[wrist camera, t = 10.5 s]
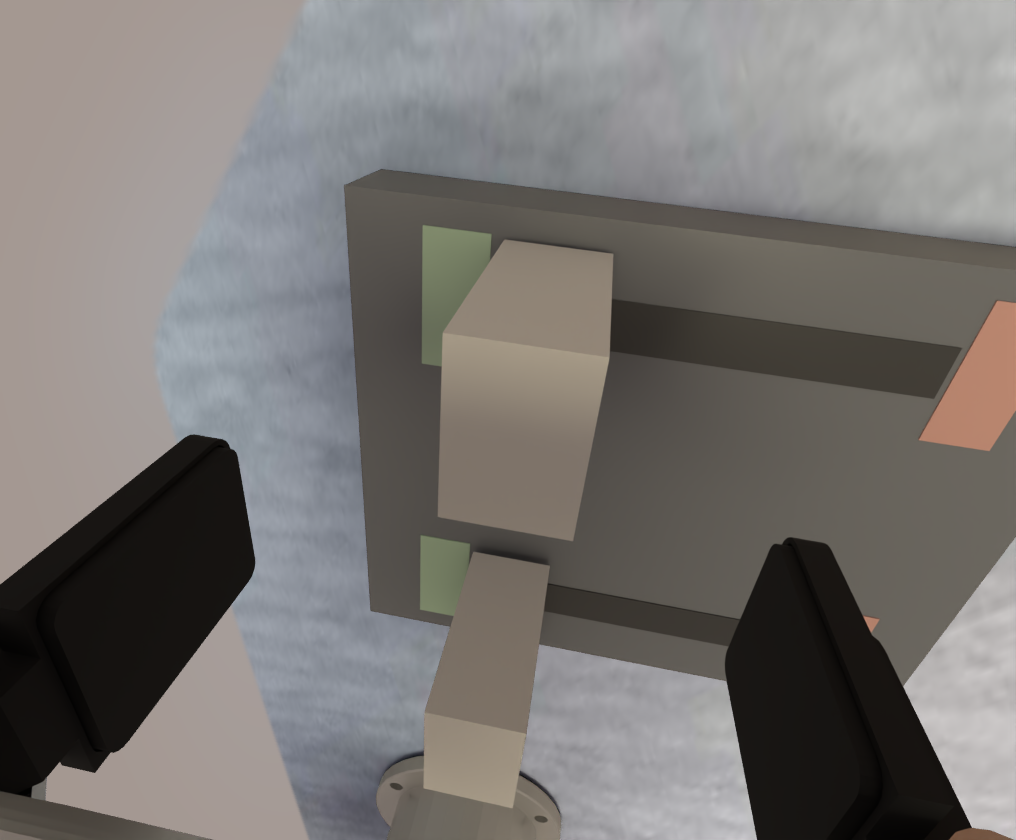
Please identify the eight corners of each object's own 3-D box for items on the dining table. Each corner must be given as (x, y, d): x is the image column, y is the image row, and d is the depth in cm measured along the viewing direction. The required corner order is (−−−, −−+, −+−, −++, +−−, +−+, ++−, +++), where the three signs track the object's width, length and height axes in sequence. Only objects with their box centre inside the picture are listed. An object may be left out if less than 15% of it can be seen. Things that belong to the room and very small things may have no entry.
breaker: (536, 639, 24) (512, 808, 19) (467, 625, 25) (423, 788, 19) (550, 565, 22) (526, 733, 17) (473, 551, 22) (424, 712, 17)
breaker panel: (858, 650, 26) (884, 713, 24) (392, 562, 28) (370, 611, 26) (1111, 259, 17) (1201, 294, 14) (381, 169, 19) (343, 185, 16)
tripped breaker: (587, 394, 18) (573, 541, 12) (493, 379, 18) (438, 517, 13) (613, 253, 16) (609, 357, 10) (504, 239, 16) (442, 332, 10)
